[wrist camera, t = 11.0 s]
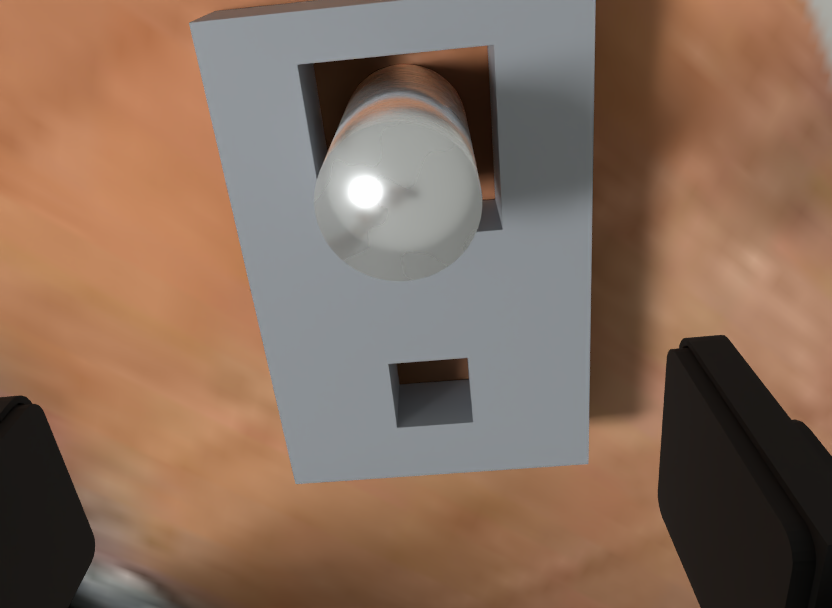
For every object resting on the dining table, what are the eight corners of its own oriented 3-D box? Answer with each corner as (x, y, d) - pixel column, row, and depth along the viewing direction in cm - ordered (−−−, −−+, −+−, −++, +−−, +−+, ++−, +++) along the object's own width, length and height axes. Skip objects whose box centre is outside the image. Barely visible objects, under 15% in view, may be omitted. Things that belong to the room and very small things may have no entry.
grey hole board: (574, 418, 32) (588, 463, 29) (306, 438, 33) (295, 483, 30) (576, -28, 24) (596, -21, 21) (214, 11, 24) (189, 22, 22)
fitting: (470, 180, 27) (486, 274, 20) (353, 191, 27) (328, 287, 20) (462, 57, 25) (477, 113, 18) (335, 70, 25) (300, 130, 18)
